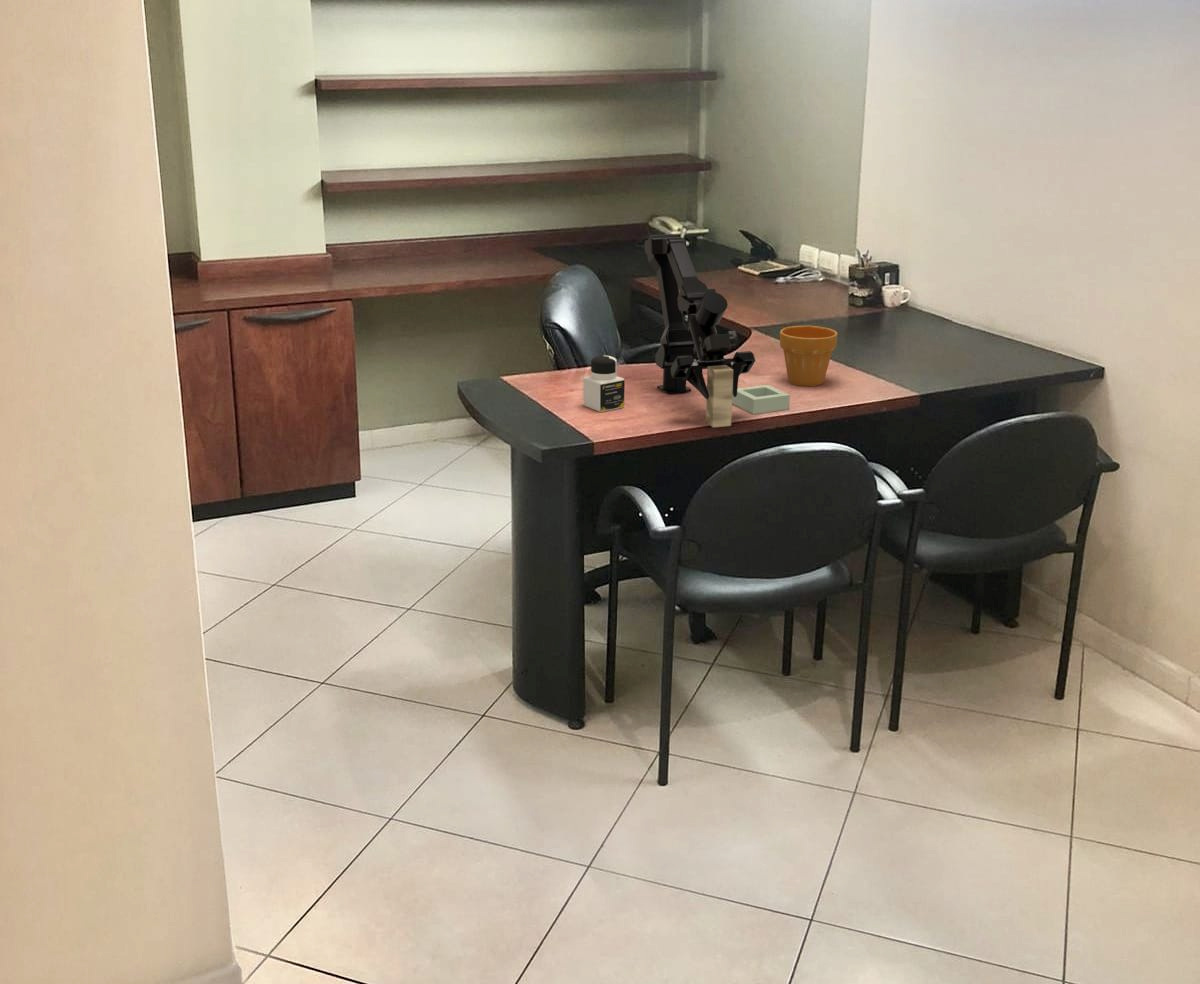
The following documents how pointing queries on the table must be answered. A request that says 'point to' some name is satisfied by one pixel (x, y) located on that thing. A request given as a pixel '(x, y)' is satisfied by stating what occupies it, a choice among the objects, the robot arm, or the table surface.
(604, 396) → the medicine bottle
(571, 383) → the table surface
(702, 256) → the table surface
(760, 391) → the socket block
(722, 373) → the maple peg
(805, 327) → the flower pot
